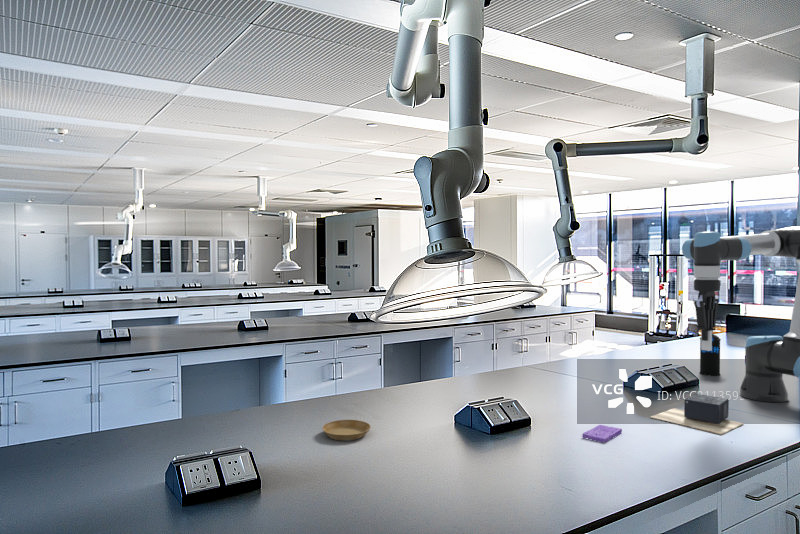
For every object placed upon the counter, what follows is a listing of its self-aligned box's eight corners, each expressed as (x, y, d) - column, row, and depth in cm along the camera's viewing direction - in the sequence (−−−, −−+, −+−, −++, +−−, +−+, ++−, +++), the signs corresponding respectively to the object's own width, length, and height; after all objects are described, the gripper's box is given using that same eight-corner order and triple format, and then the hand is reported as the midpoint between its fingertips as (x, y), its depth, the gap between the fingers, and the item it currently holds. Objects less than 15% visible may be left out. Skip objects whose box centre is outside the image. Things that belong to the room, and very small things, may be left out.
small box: (693, 412, 189) (683, 418, 182) (694, 393, 189) (683, 398, 182) (728, 418, 182) (719, 425, 174) (729, 398, 182) (719, 404, 174)
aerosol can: (700, 371, 253) (701, 327, 253) (721, 373, 248) (721, 328, 248) (698, 374, 247) (698, 329, 246) (719, 376, 242) (719, 331, 241)
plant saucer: (368, 426, 178) (367, 418, 178) (373, 441, 164) (373, 433, 164) (321, 429, 176) (321, 420, 176) (322, 445, 161) (322, 436, 161)
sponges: (582, 439, 165) (582, 433, 165) (599, 429, 174) (599, 423, 174) (605, 445, 160) (605, 438, 160) (622, 434, 170) (622, 428, 170)
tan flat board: (674, 409, 194) (674, 408, 194) (743, 424, 176) (743, 423, 176) (650, 417, 184) (650, 416, 184) (721, 435, 167) (721, 433, 167)
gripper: (704, 277, 190) (703, 346, 191) (685, 279, 182) (685, 350, 183) (727, 278, 184) (727, 349, 185) (709, 280, 176) (709, 354, 177)
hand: (706, 350), depth 184 cm, fingers closed
